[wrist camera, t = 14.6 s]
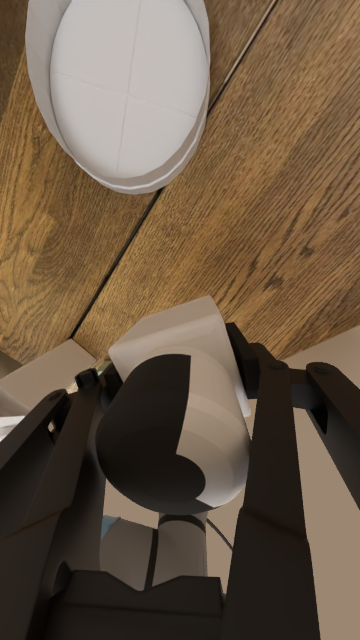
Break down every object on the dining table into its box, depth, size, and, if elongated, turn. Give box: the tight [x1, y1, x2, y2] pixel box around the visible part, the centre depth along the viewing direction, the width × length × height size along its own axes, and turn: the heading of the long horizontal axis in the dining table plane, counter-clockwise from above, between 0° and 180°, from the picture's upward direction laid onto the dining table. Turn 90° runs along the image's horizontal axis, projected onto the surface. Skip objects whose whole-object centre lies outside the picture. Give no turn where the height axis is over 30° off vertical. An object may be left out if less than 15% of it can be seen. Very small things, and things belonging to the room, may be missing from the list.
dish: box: [25, 0, 210, 195], centre depth 22 cm, size 22×22×5 cm
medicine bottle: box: [95, 295, 251, 515], centre depth 12 cm, size 7×7×12 cm
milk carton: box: [0, 339, 96, 442], centre depth 29 cm, size 7×7×19 cm
